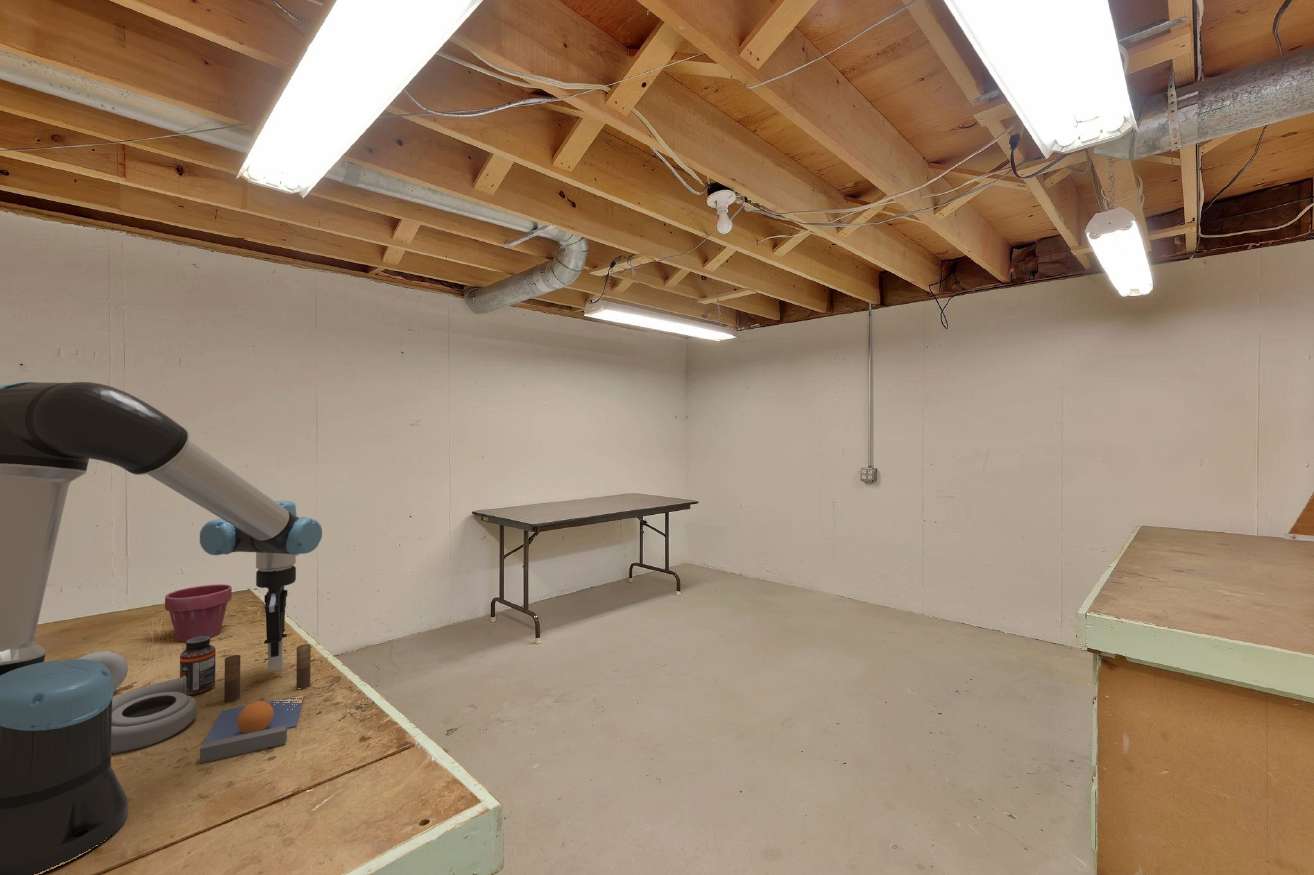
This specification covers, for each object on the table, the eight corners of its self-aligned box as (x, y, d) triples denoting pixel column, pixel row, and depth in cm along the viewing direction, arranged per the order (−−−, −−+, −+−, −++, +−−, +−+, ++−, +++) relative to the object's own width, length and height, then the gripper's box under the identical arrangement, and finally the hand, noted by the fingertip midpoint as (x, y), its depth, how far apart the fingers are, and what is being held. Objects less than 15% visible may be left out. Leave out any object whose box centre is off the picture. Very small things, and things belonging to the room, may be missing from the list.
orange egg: (273, 691, 101) (276, 708, 103) (237, 699, 98) (241, 715, 101) (270, 718, 97) (273, 734, 100) (233, 727, 94) (236, 743, 97)
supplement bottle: (174, 692, 114) (174, 640, 114) (207, 681, 119) (208, 632, 119) (186, 699, 111) (187, 646, 111) (220, 687, 116) (221, 636, 116)
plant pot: (182, 629, 152) (183, 585, 152) (240, 624, 156) (240, 581, 156) (152, 648, 138) (152, 600, 138) (216, 642, 142) (216, 595, 142)
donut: (58, 711, 106) (59, 661, 106) (59, 705, 108) (59, 657, 108) (128, 693, 113) (129, 647, 113) (127, 688, 116) (128, 643, 116)
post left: (238, 701, 110) (238, 658, 110) (222, 703, 109) (223, 660, 109) (241, 695, 113) (241, 653, 113) (225, 698, 111) (226, 656, 111)
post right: (309, 687, 116) (310, 647, 116) (295, 690, 115) (295, 649, 115) (310, 682, 119) (311, 643, 119) (297, 685, 117) (297, 645, 118)
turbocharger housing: (79, 774, 88) (197, 740, 99) (79, 737, 88) (197, 706, 98) (90, 727, 101) (194, 700, 111) (90, 694, 100) (194, 670, 111)
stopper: (285, 744, 95) (285, 730, 95) (199, 763, 89) (199, 748, 89) (286, 738, 97) (287, 725, 97) (203, 757, 91) (203, 742, 91)
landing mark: (296, 726, 101) (296, 725, 101) (202, 746, 94) (202, 745, 94) (304, 695, 113) (304, 694, 113) (222, 711, 106) (222, 710, 106)
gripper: (292, 571, 118) (291, 676, 118) (299, 560, 129) (298, 655, 129) (250, 575, 114) (249, 683, 114) (261, 563, 126) (260, 661, 126)
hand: (275, 668), depth 122 cm, fingers closed
